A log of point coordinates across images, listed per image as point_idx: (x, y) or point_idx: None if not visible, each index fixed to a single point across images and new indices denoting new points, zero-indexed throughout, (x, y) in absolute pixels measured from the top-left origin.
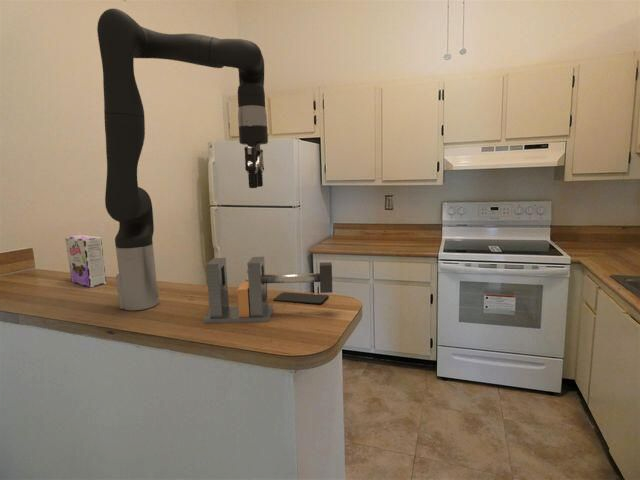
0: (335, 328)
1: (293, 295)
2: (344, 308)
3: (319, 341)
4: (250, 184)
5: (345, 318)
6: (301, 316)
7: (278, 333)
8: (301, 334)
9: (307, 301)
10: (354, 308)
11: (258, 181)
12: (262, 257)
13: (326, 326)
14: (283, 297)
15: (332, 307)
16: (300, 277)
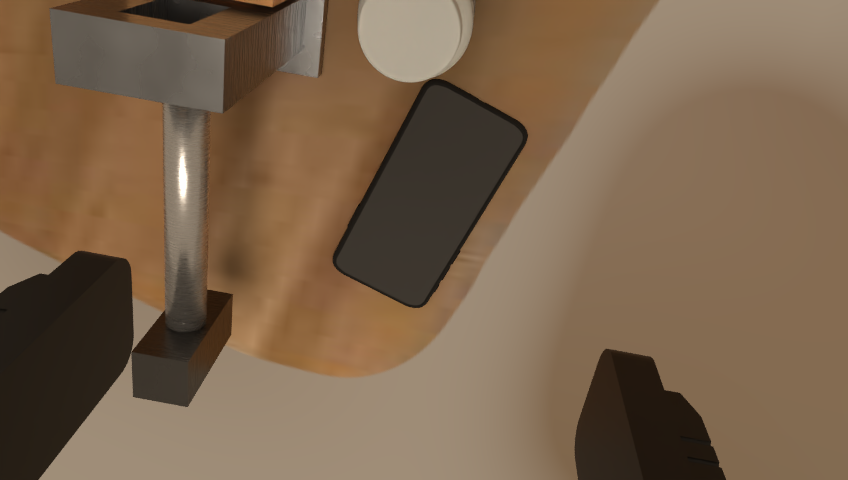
0: None
1: (465, 176)
2: (284, 328)
3: (9, 200)
4: (19, 292)
5: None
6: (221, 175)
7: None
8: (59, 154)
9: (364, 221)
10: (279, 357)
11: (600, 453)
12: (201, 102)
13: (124, 240)
14: (450, 129)
15: (300, 294)
16: (164, 246)
